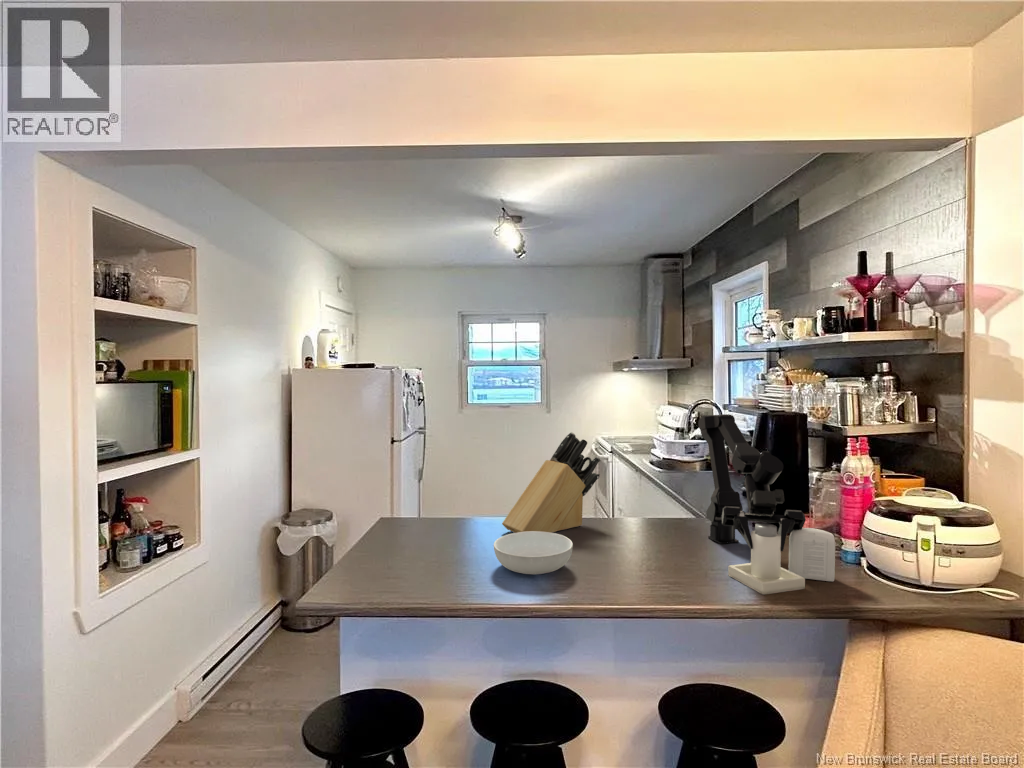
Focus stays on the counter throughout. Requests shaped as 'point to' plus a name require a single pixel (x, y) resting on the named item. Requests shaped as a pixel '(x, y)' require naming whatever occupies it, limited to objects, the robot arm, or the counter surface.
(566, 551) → the serving bowl
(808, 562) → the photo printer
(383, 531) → the counter surface
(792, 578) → the cream tray
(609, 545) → the counter surface
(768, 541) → the white bottle
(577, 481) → the knife block
